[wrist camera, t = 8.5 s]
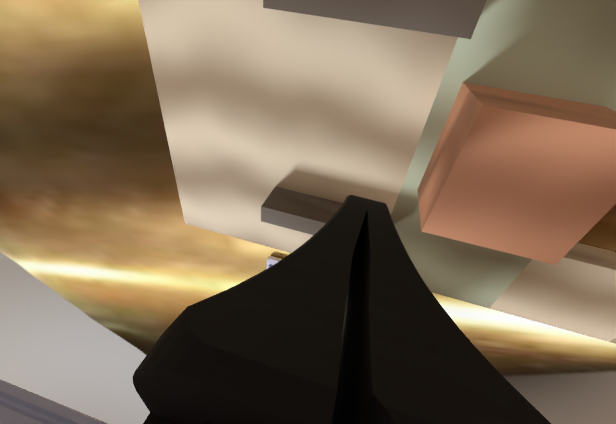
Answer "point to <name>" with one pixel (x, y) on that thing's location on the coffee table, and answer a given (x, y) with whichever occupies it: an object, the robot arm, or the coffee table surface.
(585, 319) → the deck
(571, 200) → the block
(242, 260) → the coffee table surface
